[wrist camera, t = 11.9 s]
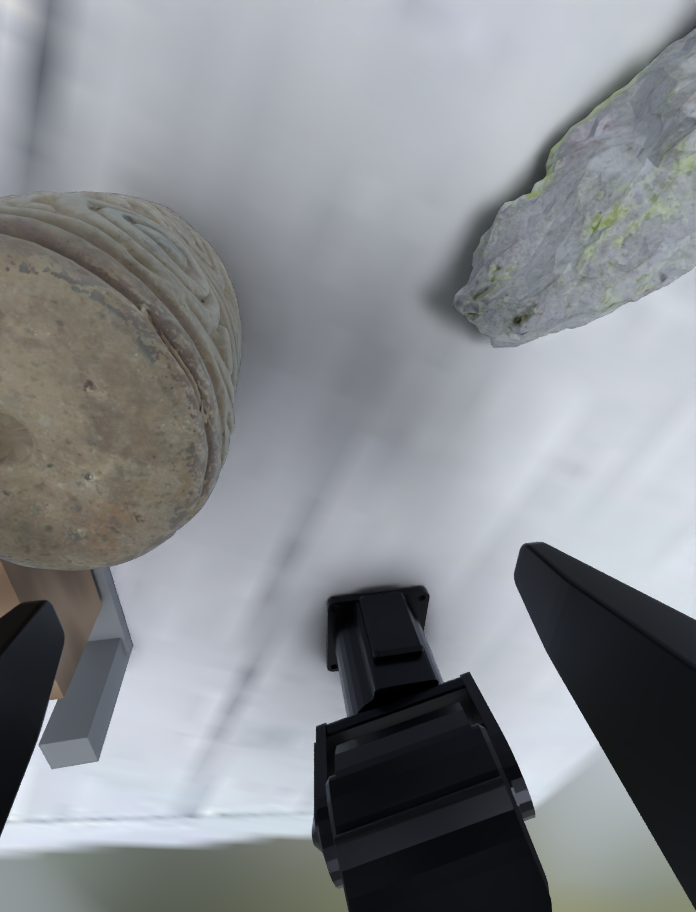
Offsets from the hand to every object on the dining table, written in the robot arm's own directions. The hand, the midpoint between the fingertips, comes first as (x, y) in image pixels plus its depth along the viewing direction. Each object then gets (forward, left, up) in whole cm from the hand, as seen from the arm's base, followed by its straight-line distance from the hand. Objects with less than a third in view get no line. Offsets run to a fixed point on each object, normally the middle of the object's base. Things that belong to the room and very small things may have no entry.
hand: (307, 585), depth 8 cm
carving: (+3, +4, -13) cm, 14 cm away
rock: (+8, -14, -13) cm, 21 cm away
